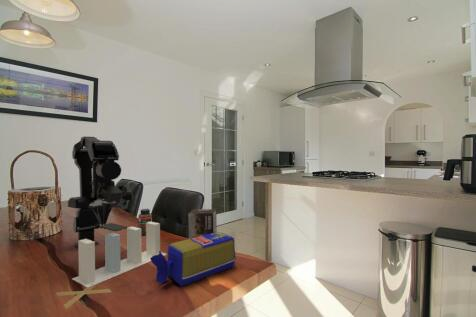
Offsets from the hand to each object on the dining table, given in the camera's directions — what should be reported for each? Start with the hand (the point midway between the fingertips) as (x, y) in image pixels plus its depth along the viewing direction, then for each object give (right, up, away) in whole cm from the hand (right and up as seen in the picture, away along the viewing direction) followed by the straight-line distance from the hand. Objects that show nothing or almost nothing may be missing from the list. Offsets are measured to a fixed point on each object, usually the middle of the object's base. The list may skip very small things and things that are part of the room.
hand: (103, 224), depth 83 cm
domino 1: (+2, -12, -13) cm, 18 cm away
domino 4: (+15, -12, +6) cm, 20 cm away
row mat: (+9, -13, -3) cm, 16 cm away
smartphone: (-18, -14, +43) cm, 49 cm away
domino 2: (+7, -12, -7) cm, 15 cm away
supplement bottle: (+2, -13, +32) cm, 35 cm away
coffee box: (+33, -13, +6) cm, 36 cm away
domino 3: (+11, -12, 0) cm, 16 cm away
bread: (+33, -13, -8) cm, 36 cm away
